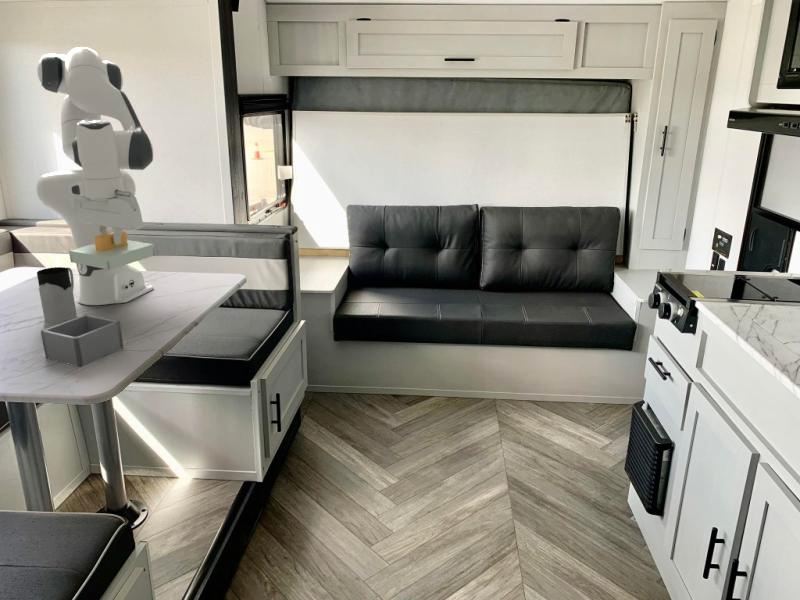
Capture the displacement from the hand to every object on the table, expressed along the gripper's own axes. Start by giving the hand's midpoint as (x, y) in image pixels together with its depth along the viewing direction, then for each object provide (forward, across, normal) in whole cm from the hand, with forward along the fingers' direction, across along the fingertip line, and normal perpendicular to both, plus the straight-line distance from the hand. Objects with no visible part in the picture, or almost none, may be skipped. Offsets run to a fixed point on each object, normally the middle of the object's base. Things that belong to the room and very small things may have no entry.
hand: (111, 243), depth 158 cm
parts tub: (+24, -3, +14) cm, 28 cm away
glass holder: (+25, +22, +1) cm, 33 cm away
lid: (+4, 0, 0) cm, 4 cm away
